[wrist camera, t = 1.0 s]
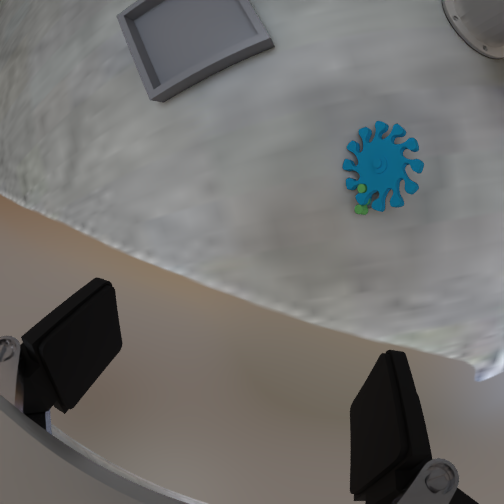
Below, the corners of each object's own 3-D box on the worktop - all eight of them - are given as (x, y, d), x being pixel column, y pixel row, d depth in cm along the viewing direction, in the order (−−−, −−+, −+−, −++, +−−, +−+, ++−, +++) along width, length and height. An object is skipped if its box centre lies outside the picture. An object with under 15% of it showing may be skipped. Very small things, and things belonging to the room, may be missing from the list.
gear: (363, 105, 27) (435, 146, 21) (388, 121, 31) (451, 161, 25) (322, 186, 33) (380, 238, 27) (350, 192, 37) (403, 238, 31)
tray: (225, -33, 24) (218, -44, 20) (274, 46, 28) (270, 37, 25) (129, 21, 29) (116, 15, 26) (163, 102, 33) (150, 100, 30)
